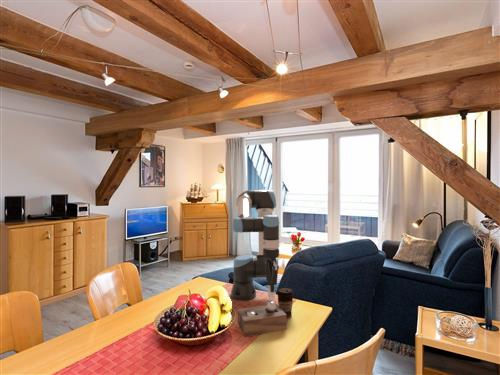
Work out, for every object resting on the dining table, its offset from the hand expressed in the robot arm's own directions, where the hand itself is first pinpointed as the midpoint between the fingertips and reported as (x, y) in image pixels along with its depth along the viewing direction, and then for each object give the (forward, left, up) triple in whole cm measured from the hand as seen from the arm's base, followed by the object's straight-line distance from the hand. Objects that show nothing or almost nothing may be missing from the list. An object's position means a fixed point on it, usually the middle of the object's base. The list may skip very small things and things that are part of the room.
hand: (271, 297), depth 131 cm
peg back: (0, 0, -8) cm, 8 cm away
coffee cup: (-7, +10, -13) cm, 18 cm away
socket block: (0, -5, -13) cm, 14 cm away
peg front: (0, -10, -12) cm, 15 cm away
